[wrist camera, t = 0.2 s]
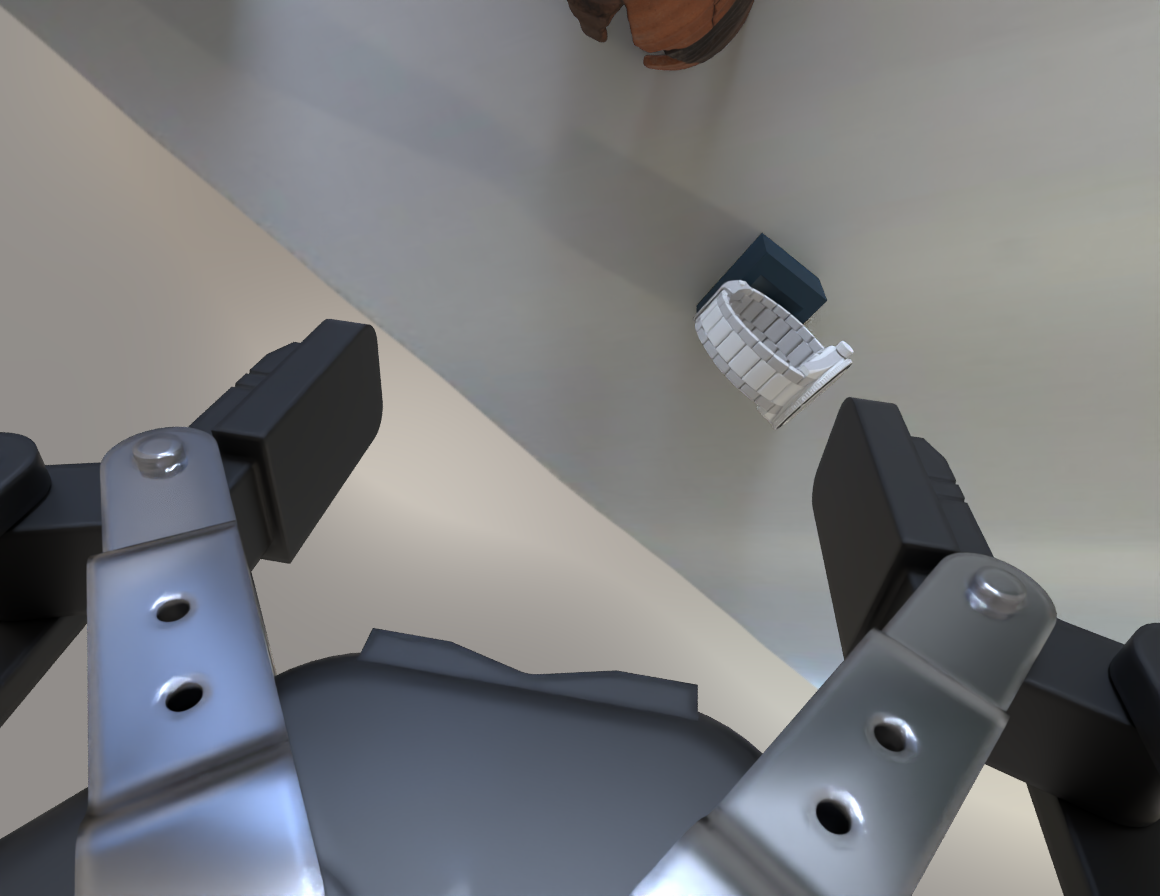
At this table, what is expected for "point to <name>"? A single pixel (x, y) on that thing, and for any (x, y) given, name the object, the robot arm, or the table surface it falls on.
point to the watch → (769, 332)
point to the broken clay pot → (668, 26)
